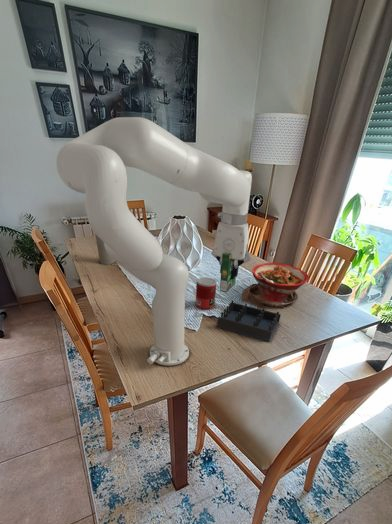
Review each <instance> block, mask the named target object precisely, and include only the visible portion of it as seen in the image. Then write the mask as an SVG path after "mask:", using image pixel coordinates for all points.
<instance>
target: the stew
mask: <svg viewBox="0 0 392 524" xmlns="http://www.w3.org/2000/svg"><path fill="white" fill-rule="evenodd" d="M251 274H252V276H253V278H254V280H255V281H256V283H253V284H251V285H249V286H247V287H245V288H244V289H243V291H242V293H241V295H240V296H241V297H240V299H241V302H245V303H248V304H250V305H253V306H256V307H261V308H269V309H270V308H272V309H274V308H275V309H280V308H287V307H289V306H292V304H293V303H295V302H296V301H297V300H298V298H299V295H298V293H297V292H296V291H297V290H298V289H299V288H301V287H303V285H305V284H306V283H307V282H308V281H309V275H308V273H307V272H305V271H304V270H302V269H301V268H299V267H296V266H293V265H290V264H287V263H281V262H265V263H259V264H256V265H255V266H254V267H252V269H251ZM295 297H296V298H295ZM285 299H286V300H287V301H286V300H285ZM285 301H286V302H285Z"/></svg>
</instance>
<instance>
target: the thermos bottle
mask: <svg viewBox="0 0 392 524" xmlns="http://www.w3.org/2000/svg"><path fill="white" fill-rule="evenodd" d="M94 235H95V240H96V241H95V242H96V247H97V253H98V260H99V263H100V264H102V265H113V264H114V263H116V262H115V261H114V260H113V259H112V258H111V257H110V256H109V255H108V253H107V252H106V249H105V246H104V242H103V241H102V240H101V239H100V238H99V237H98V236H97V235H96V234H95V233H94Z"/></svg>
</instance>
